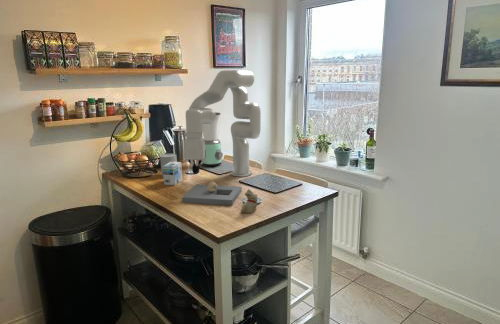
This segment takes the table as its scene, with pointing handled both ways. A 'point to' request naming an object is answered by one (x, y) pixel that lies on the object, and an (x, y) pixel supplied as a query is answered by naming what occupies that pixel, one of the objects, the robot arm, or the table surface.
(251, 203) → the chocolate bunny
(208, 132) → the mint green blender
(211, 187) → the ball
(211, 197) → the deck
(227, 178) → the table surface
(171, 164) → the light bulb box
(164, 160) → the grey piece
